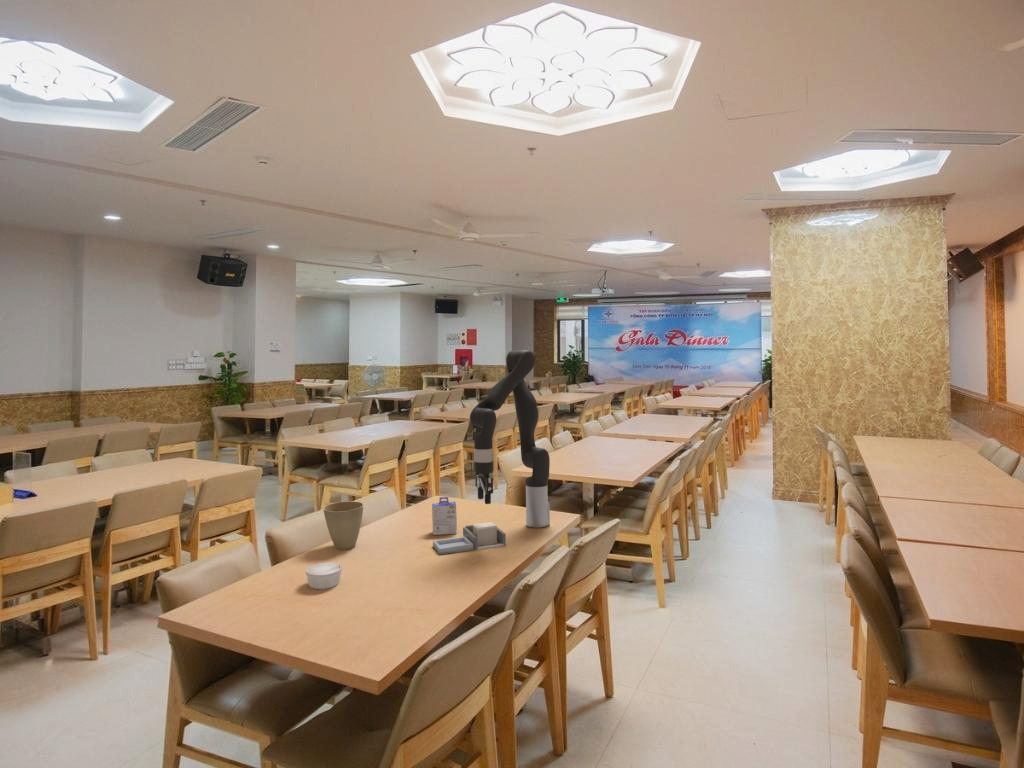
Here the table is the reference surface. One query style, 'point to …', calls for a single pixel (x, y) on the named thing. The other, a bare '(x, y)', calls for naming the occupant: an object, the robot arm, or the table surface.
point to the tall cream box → (485, 533)
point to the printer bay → (469, 534)
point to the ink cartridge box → (444, 517)
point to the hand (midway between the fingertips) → (484, 501)
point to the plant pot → (344, 523)
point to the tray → (453, 545)
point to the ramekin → (323, 575)
